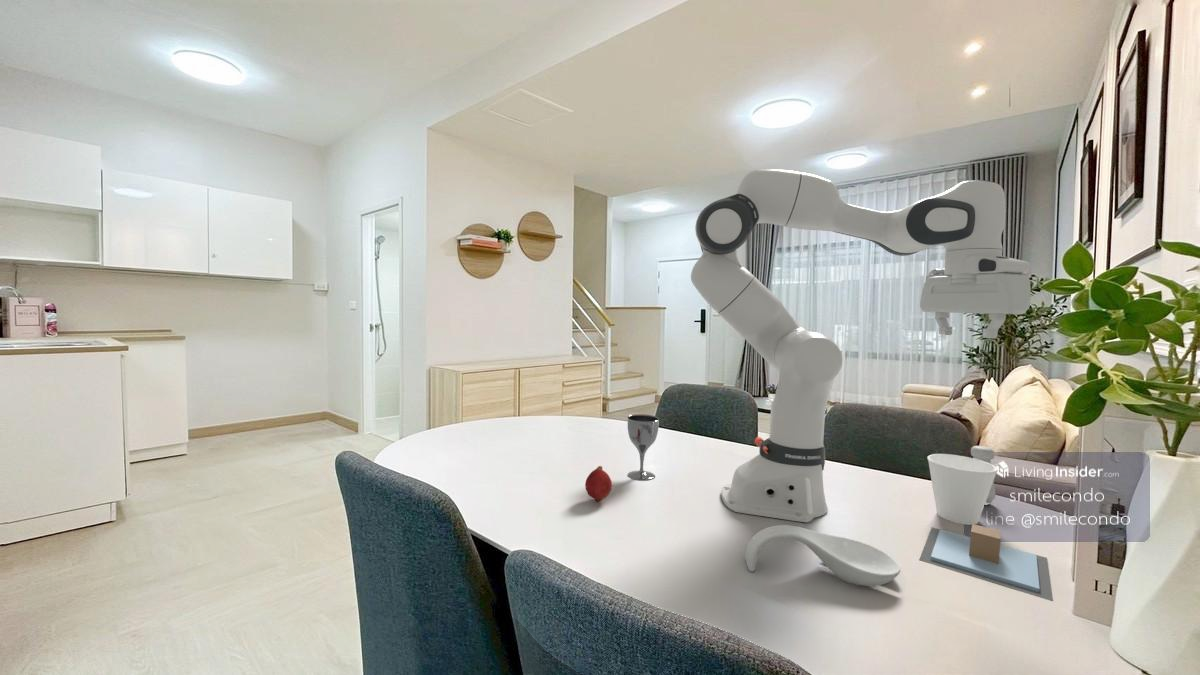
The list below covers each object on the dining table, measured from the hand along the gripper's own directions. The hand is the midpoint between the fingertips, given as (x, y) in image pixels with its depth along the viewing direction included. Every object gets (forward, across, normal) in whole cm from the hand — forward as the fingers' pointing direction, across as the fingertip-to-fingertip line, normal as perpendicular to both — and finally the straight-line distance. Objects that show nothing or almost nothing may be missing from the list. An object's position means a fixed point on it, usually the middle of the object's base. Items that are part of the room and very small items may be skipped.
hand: (966, 336), depth 95 cm
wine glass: (+40, -36, -55) cm, 77 cm away
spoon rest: (+40, +11, -38) cm, 56 cm away
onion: (+40, -22, -69) cm, 83 cm away
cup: (+39, -3, +5) cm, 40 cm away
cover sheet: (+38, +12, -6) cm, 41 cm away
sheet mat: (+39, +12, -6) cm, 41 cm away
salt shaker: (+39, -10, +18) cm, 44 cm away
